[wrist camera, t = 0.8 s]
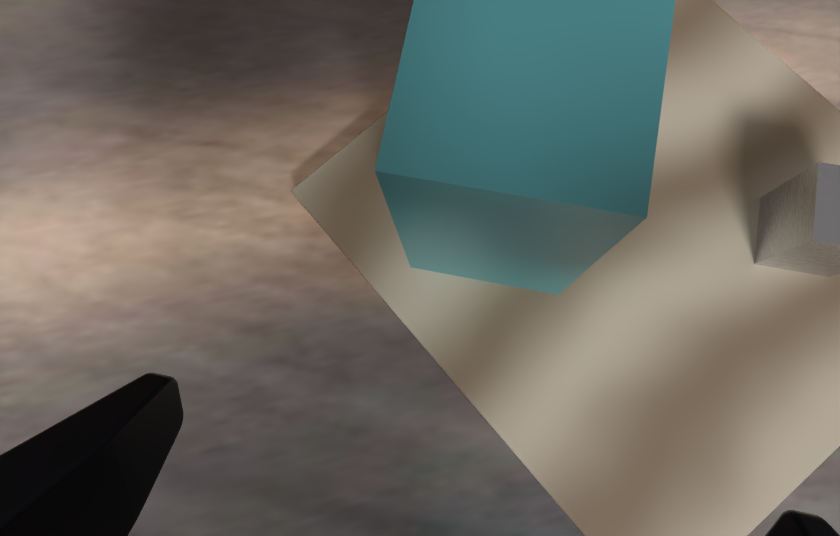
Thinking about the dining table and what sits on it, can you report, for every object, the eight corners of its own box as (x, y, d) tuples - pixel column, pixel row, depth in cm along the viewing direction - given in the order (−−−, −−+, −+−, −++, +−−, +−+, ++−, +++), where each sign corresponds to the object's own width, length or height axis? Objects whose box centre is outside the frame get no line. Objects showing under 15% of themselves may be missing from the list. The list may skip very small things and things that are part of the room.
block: (828, 276, 21) (902, 255, 17) (754, 263, 21) (812, 240, 18) (833, 209, 21) (905, 175, 18) (760, 197, 21) (818, 161, 18)
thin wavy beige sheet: (996, 273, 21) (1022, 268, 20) (648, 610, 20) (658, 621, 19) (614, -61, 25) (621, -79, 24) (297, 198, 24) (290, 190, 23)
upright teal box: (558, 294, 21) (646, 217, 11) (410, 267, 22) (374, 170, 12) (580, 155, 22) (678, -26, 12) (438, 132, 23) (427, -59, 13)
